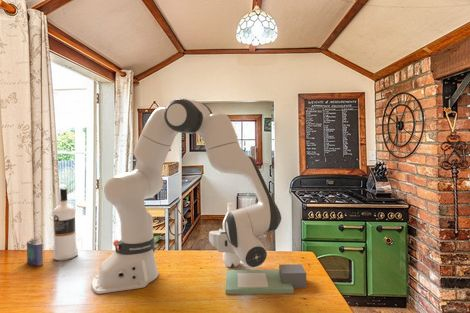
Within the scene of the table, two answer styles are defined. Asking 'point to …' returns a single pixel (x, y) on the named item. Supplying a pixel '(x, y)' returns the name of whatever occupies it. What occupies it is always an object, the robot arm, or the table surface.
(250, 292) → the green board with pad
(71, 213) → the vodka
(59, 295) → the table surface
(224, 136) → the robot arm
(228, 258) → the water bottle
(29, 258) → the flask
